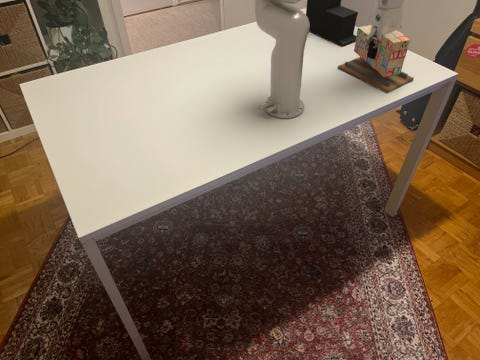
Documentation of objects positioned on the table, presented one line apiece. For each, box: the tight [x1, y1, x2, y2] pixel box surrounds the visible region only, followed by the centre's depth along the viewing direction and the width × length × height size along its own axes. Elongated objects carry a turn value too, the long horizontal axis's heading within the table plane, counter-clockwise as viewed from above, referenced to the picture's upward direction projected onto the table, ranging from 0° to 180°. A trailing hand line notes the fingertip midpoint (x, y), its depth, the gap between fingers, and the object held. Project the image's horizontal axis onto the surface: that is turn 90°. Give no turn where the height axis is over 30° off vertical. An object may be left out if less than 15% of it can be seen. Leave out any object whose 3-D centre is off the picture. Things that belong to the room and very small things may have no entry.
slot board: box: [337, 56, 415, 94], centre depth 134 cm, size 14×23×2 cm, turn 35°
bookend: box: [305, 0, 359, 48], centre depth 153 cm, size 23×11×24 cm, turn 34°
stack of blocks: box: [353, 24, 411, 77], centre depth 128 cm, size 21×6×12 cm, turn 16°
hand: (378, 54), depth 130 cm, fingers closed on stack of blocks, 7 cm apart
